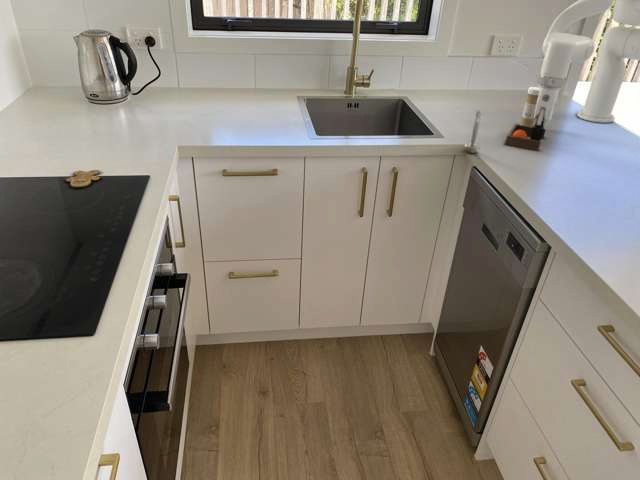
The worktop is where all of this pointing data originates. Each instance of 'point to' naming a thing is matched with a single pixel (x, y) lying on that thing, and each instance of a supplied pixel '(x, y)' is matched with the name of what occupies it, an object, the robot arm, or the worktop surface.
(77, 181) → the cookie
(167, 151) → the worktop surface
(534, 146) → the brown u-shaped piece
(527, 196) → the worktop surface
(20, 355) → the worktop surface
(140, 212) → the worktop surface
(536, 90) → the sprinkles bottle
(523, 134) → the ball
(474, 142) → the screw
